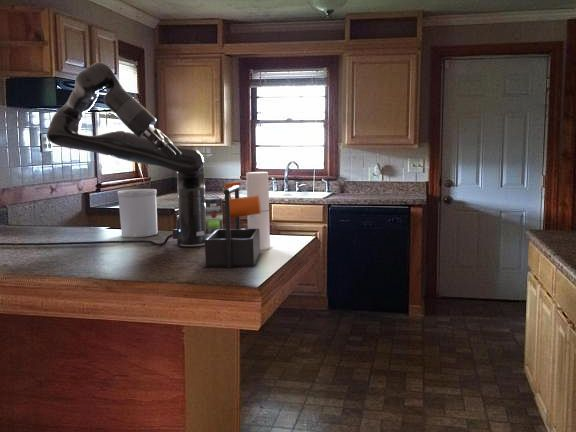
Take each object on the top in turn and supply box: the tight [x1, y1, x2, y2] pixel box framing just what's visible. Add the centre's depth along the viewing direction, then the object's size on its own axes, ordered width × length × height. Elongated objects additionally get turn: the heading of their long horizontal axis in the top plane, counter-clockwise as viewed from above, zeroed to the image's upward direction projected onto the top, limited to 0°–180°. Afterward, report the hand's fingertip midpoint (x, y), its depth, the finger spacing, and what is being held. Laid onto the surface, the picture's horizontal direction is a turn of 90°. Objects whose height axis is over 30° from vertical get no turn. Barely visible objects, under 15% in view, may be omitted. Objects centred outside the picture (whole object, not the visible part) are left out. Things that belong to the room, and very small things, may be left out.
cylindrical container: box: [245, 171, 271, 251], centre depth 210 cm, size 7×7×25 cm
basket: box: [204, 186, 261, 269], centre depth 189 cm, size 14×24×22 cm, turn 178°
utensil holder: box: [116, 188, 158, 238], centre depth 249 cm, size 15×15×18 cm
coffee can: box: [205, 196, 224, 237], centre depth 246 cm, size 10×10×14 cm
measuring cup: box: [224, 181, 261, 219], centre depth 188 cm, size 10×5×9 cm
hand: (176, 156), depth 187 cm, fingers open, 8 cm apart
